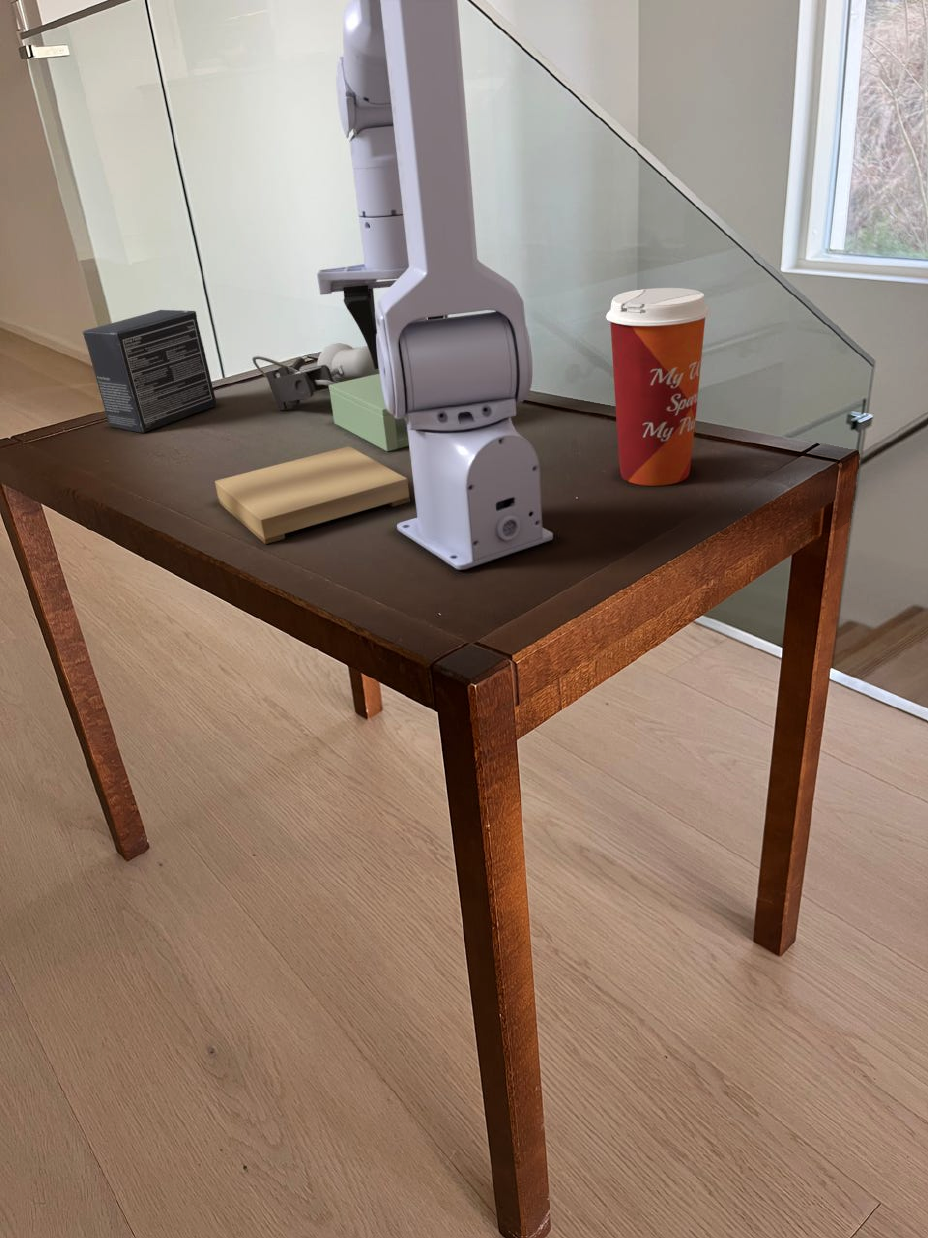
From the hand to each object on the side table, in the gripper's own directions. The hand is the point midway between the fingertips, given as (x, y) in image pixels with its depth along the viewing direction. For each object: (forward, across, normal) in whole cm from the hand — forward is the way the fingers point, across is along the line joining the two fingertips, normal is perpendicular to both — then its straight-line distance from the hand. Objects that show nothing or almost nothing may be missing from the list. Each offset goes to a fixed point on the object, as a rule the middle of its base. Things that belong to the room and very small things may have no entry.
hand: (406, 364), depth 92 cm
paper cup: (+6, -20, +19) cm, 29 cm away
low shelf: (+6, +8, +20) cm, 22 cm away
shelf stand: (+6, 0, 0) cm, 6 cm away
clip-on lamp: (+6, +12, -14) cm, 19 cm away
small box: (+6, +28, -10) cm, 30 cm away
